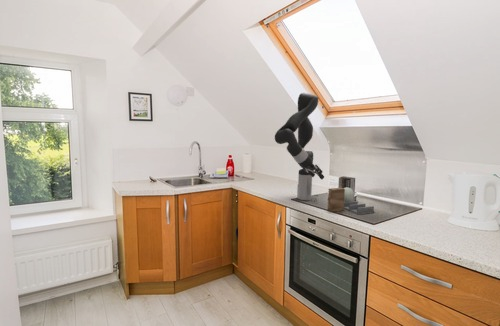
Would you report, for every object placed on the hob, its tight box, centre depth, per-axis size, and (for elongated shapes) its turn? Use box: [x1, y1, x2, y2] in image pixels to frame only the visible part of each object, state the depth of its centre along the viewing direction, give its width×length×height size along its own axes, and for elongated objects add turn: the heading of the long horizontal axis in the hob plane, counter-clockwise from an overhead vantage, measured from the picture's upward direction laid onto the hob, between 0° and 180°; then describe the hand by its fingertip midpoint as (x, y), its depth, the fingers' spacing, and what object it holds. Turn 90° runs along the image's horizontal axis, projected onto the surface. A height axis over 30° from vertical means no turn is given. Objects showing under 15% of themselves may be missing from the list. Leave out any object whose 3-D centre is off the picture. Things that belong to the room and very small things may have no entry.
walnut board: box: [327, 187, 345, 213], centre depth 168 cm, size 4×9×13 cm, turn 113°
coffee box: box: [337, 176, 356, 202], centre depth 191 cm, size 9×6×16 cm
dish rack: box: [344, 200, 375, 215], centre depth 172 cm, size 21×12×4 cm, turn 23°
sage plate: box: [344, 187, 355, 202], centre depth 177 cm, size 1×11×11 cm, turn 113°
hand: (318, 177), depth 161 cm, fingers open, 8 cm apart
